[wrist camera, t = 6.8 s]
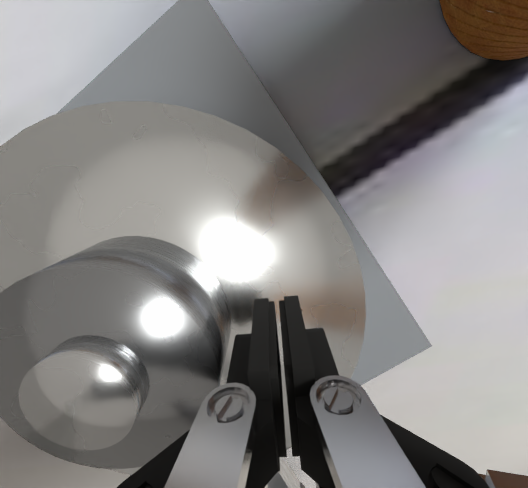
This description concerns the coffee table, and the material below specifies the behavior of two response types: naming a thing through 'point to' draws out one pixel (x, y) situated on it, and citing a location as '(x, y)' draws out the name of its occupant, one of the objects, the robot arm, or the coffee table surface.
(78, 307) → the cover
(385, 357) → the plinth
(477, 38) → the disposable coffee cup
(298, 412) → the robot arm
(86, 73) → the coffee table surface
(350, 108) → the coffee table surface
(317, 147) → the coffee table surface
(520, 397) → the coffee table surface
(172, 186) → the turntable
